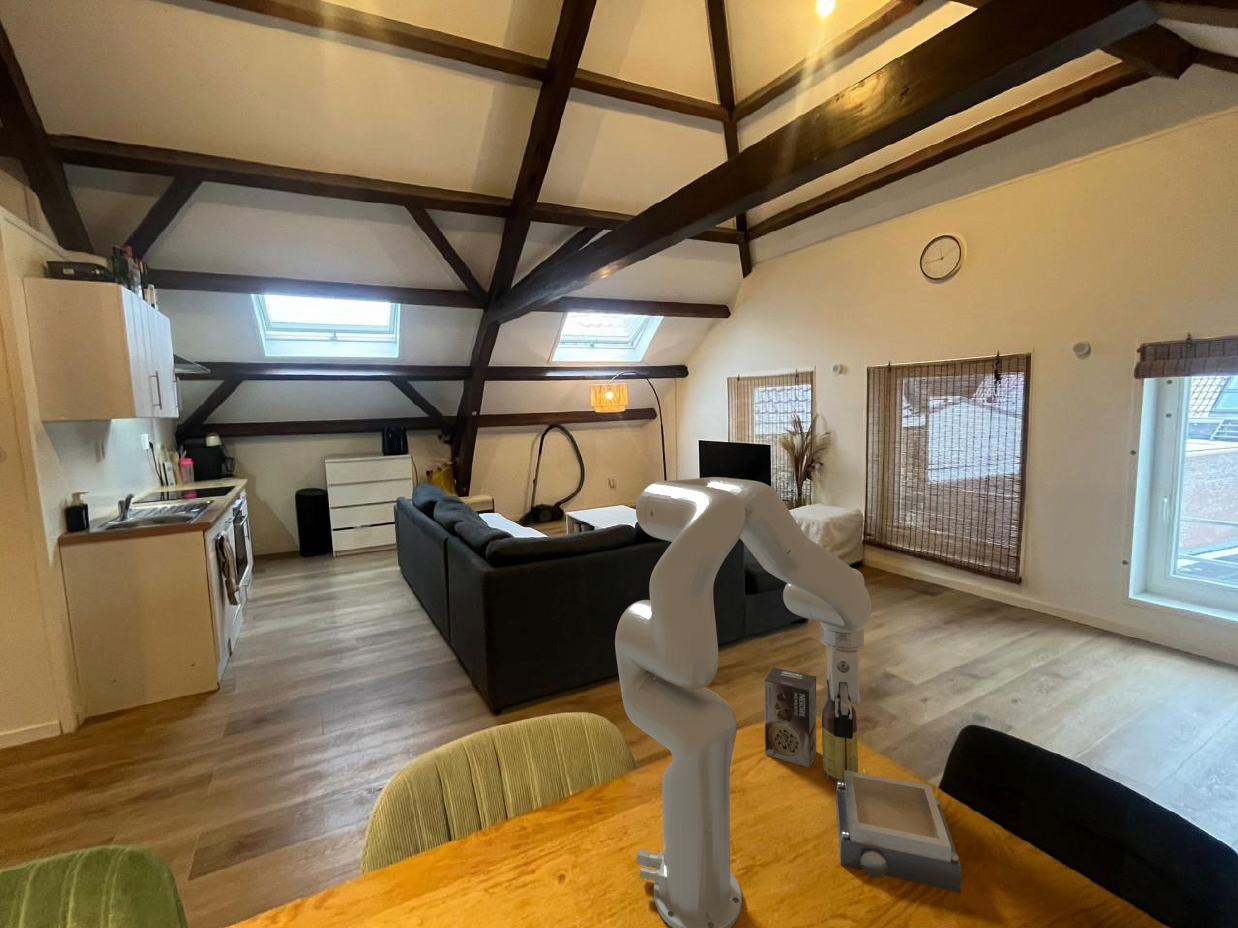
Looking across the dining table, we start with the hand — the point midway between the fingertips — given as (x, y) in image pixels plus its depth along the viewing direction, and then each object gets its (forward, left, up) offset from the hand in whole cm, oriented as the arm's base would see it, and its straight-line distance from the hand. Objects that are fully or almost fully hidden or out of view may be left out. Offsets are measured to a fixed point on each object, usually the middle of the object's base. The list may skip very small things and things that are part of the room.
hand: (841, 721), depth 101 cm
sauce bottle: (0, 0, -11) cm, 11 cm away
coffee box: (-9, +5, -11) cm, 15 cm away
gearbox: (+7, -14, -11) cm, 19 cm away
